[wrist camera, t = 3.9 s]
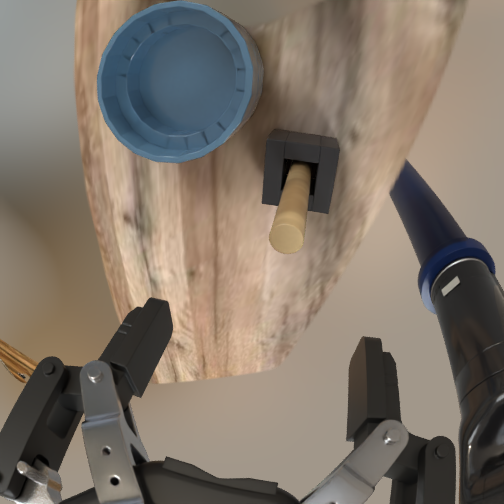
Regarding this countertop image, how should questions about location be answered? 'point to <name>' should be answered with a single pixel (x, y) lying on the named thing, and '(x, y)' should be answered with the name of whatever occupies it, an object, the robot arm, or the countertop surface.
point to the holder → (301, 149)
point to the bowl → (178, 81)
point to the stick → (292, 210)
